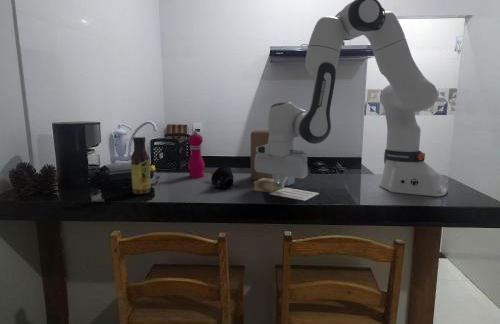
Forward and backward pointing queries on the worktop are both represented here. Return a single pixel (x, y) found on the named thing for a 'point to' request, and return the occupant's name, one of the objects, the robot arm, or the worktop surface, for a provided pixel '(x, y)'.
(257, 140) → the block
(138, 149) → the sauce bottle
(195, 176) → the pepper mill
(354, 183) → the worktop surface
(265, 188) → the oak block
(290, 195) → the recipe card
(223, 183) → the black rounded dome
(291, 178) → the blue cube
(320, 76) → the robot arm
